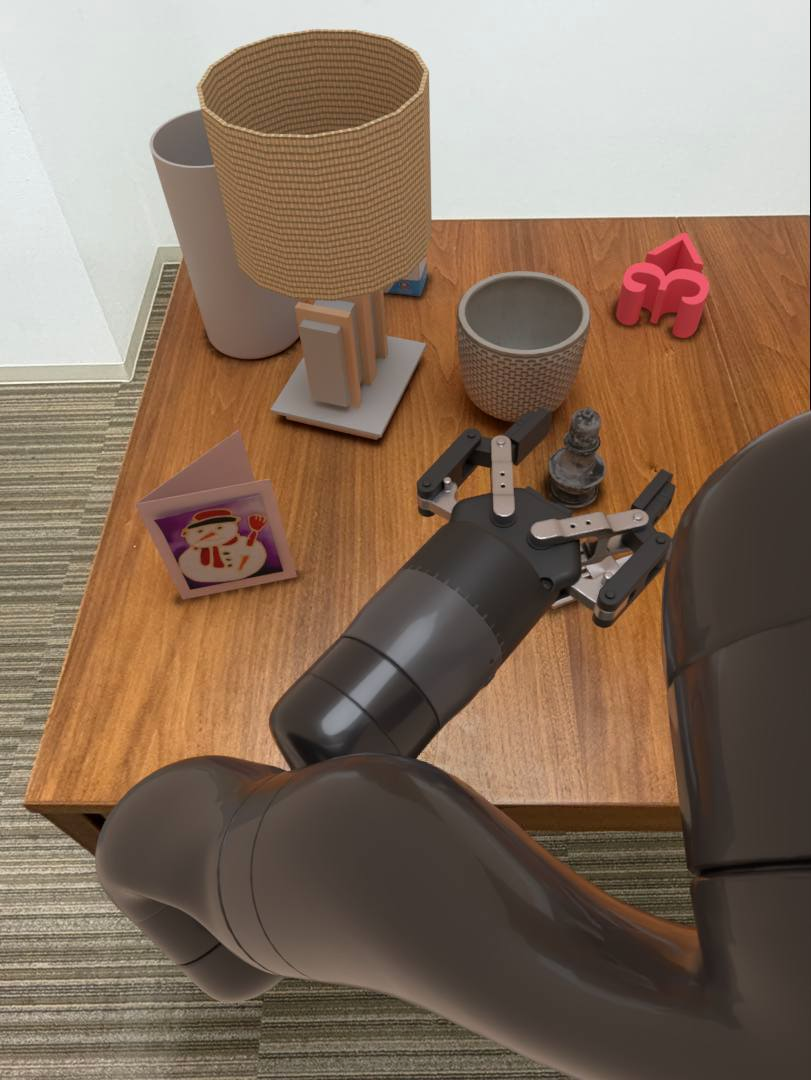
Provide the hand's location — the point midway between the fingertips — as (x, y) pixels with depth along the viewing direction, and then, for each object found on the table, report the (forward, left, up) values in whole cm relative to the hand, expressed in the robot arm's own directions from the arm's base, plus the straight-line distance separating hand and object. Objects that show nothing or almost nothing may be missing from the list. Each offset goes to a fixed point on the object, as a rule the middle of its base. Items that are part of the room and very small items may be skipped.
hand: (603, 448), depth 50 cm
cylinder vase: (+52, -26, -29) cm, 65 cm away
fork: (-2, -13, -29) cm, 32 cm away
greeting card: (+32, +5, -29) cm, 44 cm away
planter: (+17, -29, -29) cm, 45 cm away
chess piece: (+7, -20, -29) cm, 36 cm away
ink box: (+41, -42, -29) cm, 66 cm away
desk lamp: (+35, -22, -29) cm, 51 cm away
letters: (+8, -55, -29) cm, 63 cm away
